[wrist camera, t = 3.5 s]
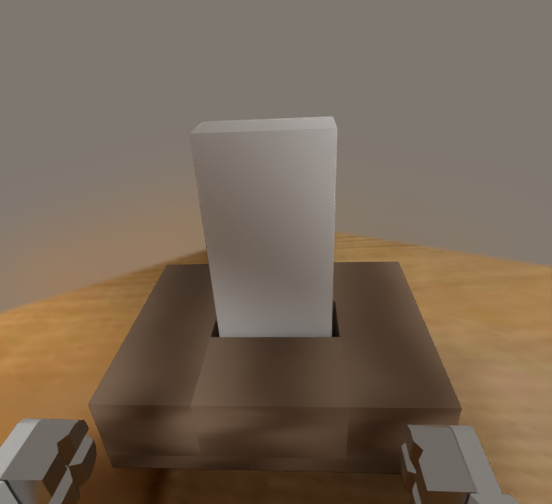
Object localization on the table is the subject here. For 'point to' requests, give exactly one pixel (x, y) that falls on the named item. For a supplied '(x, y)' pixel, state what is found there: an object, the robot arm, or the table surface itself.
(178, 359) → the slotted box
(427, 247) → the table surface
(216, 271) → the tall white pillar
